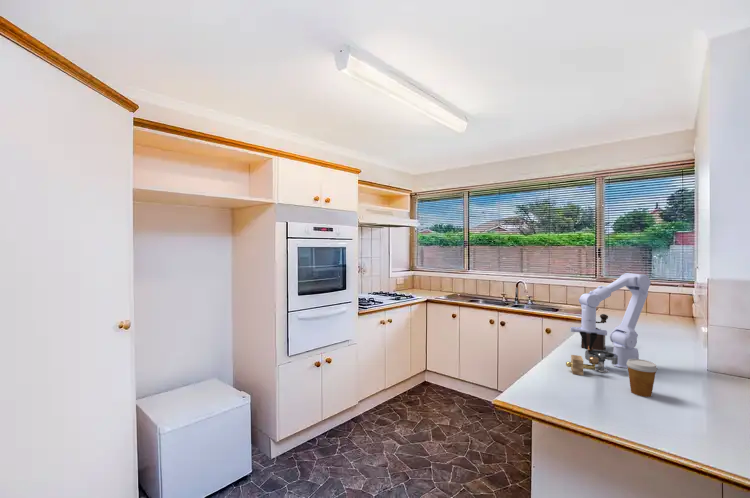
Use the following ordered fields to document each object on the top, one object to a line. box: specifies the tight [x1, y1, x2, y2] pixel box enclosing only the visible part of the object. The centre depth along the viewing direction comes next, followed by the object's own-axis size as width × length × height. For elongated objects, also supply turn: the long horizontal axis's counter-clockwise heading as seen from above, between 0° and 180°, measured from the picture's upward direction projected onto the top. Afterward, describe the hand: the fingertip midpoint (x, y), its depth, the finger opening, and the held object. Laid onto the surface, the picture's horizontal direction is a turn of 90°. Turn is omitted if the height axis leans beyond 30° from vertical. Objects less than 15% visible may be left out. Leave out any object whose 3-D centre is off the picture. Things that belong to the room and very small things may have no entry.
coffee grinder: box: [580, 313, 609, 351], centre depth 193 cm, size 16×11×18 cm
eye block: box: [570, 354, 584, 376], centre depth 155 cm, size 4×7×6 cm, turn 156°
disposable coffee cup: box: [626, 359, 659, 398], centre depth 133 cm, size 10×10×12 cm
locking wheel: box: [584, 346, 618, 366], centre depth 158 cm, size 10×12×5 cm
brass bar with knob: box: [565, 356, 599, 371], centre depth 154 cm, size 13×4×6 cm, turn 66°
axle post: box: [594, 361, 610, 374], centre depth 158 cm, size 6×6×4 cm
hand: (587, 348), depth 162 cm, fingers closed
